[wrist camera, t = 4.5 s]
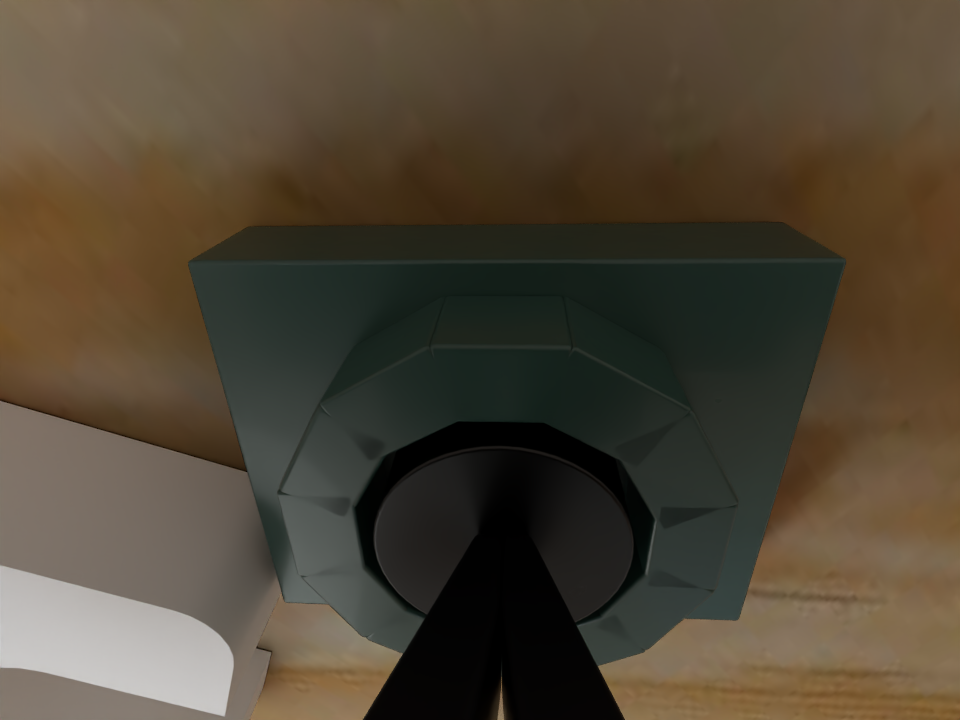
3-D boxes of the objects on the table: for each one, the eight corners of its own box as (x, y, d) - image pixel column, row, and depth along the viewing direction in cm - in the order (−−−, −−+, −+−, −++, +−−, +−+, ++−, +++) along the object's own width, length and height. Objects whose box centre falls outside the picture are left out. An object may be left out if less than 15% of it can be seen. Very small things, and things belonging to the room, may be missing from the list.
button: (627, 383, 9) (650, 450, 7) (606, 559, 11) (621, 641, 9) (383, 381, 9) (356, 444, 8) (404, 552, 11) (386, 631, 9)
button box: (784, 221, 10) (932, 306, 6) (708, 543, 14) (774, 709, 10) (246, 225, 10) (109, 304, 7) (315, 531, 14) (248, 683, 11)
